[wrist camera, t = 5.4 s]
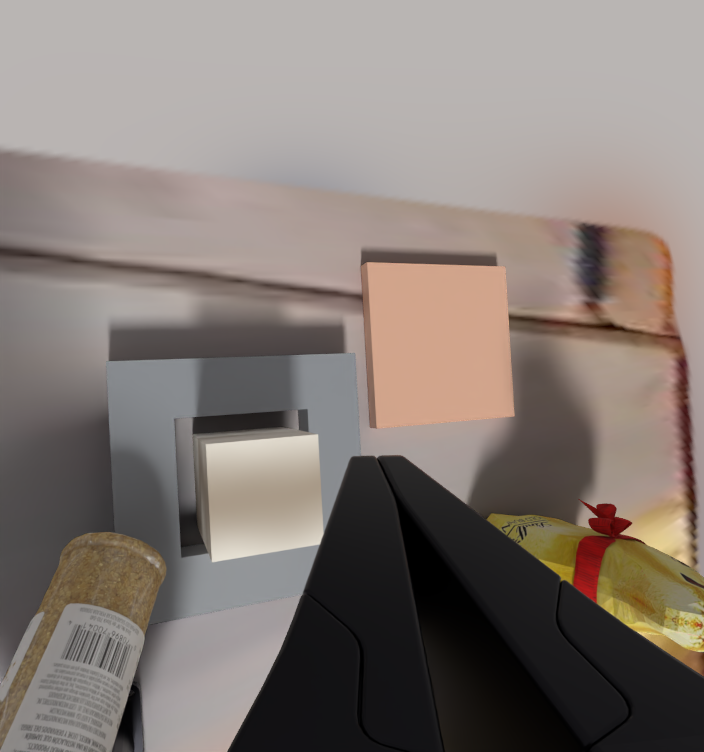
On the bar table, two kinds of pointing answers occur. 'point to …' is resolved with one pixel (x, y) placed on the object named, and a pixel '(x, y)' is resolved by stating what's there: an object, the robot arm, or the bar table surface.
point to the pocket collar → (159, 470)
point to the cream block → (257, 491)
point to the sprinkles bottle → (81, 648)
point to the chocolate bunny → (617, 572)
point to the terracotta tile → (436, 343)
